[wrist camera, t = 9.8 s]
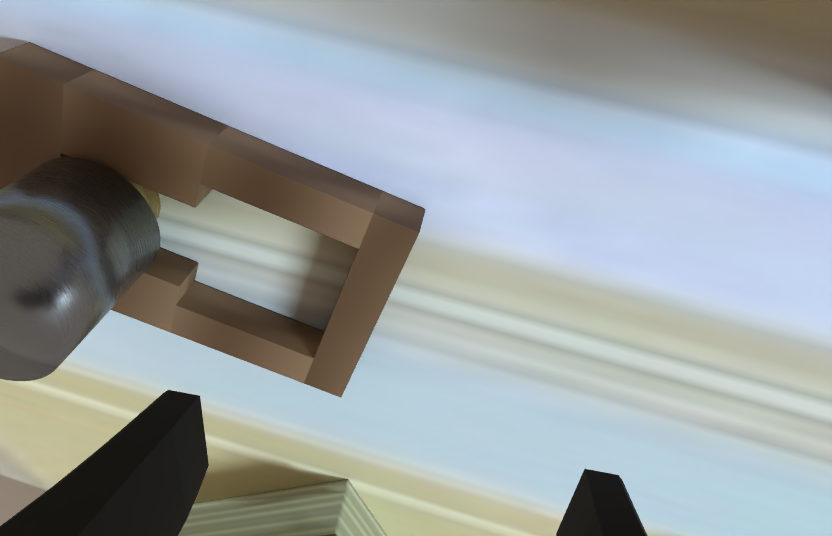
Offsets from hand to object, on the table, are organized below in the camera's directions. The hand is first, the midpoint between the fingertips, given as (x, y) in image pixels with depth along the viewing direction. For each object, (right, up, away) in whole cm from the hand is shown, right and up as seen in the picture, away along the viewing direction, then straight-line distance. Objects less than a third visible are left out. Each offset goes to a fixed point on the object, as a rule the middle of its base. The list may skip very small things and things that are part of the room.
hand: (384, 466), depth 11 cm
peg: (-10, +6, +9) cm, 15 cm away
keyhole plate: (-7, +5, +10) cm, 13 cm away
